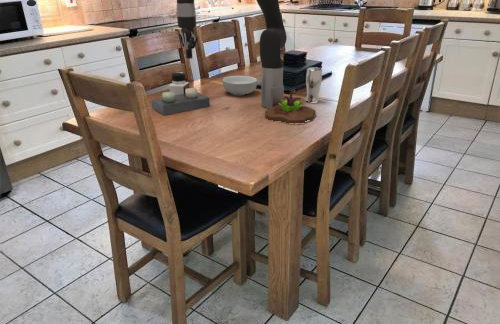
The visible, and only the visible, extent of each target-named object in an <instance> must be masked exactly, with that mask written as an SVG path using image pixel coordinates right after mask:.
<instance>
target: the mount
mask: <svg viewBox="0 0 500 324" xmlns="http://www.w3.org/2000/svg"><path fill="white" fill-rule="evenodd" d="M197 94H198V97H196V98H190V99H189V98H187V97H186V93H185V94H180V95H175V101H174V102H168V103H165V102H163V99H162V97H157V98H152V99H150V102H151V109H152V110H154V111H155V112H157V113H159V114H160V115H163V116H168V115H173V114H178V113H183V112H187V111H188V112H189V111H193V110H198V109H199V110H200V109H203V108H208V107H210V106H211V104H210V102H211V101H210V97H209V96H207V95H204V94H202V93H200V92H198V91H197Z"/></svg>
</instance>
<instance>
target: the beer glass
mask: <svg viewBox="0 0 500 324" xmlns="http://www.w3.org/2000/svg"><path fill="white" fill-rule="evenodd" d="M322 76H323V68H321V67H314V66H313V67H308V68H306V75H305V85H306V99H305V102H306V101H309V102H316V101H319V102H320V99H319V96H320V95H319V93H320V89H321V85H322V80H323V77H322Z"/></svg>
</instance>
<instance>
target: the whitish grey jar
mask: <svg viewBox="0 0 500 324" xmlns="http://www.w3.org/2000/svg"><path fill="white" fill-rule="evenodd" d="M197 92H198V89H197V88H195V87H189V88H187V89H185V93H186V97H187V98H189V99H190V98H196V97H198V94H197Z"/></svg>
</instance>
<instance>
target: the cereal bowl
mask: <svg viewBox="0 0 500 324" xmlns="http://www.w3.org/2000/svg"><path fill="white" fill-rule="evenodd" d="M257 86H258V78H255V77H253V76H247V75H229V76H225V77H223V79H222V87H223V88H224V90H225V91H226V92H228V93H231V94H232V95H233V94H234V96H246V95H245V94H247V95H248V94H250V93H252V92H254V91H255V90H256V88H257Z"/></svg>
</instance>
